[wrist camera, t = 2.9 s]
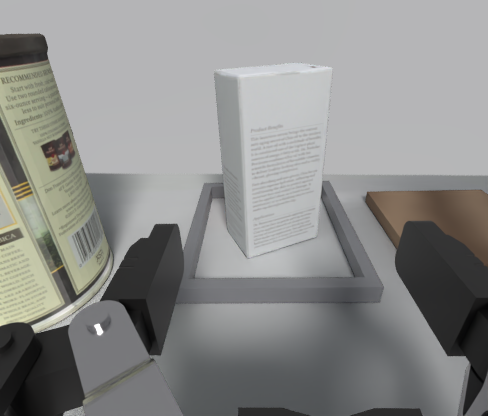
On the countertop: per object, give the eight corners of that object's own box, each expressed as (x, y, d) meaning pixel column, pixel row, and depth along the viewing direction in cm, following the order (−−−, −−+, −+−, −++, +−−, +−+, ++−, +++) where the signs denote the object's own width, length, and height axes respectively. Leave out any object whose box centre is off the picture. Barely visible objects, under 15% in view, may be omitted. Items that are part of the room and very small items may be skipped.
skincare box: (289, 213, 27) (296, 61, 21) (318, 238, 23) (337, 66, 17) (224, 230, 25) (211, 68, 19) (245, 261, 21) (239, 75, 15)
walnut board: (477, 199, 28) (481, 189, 27) (579, 276, 19) (588, 264, 19) (365, 201, 28) (367, 191, 28) (416, 277, 19) (420, 265, 19)
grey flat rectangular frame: (327, 192, 30) (328, 180, 29) (379, 302, 18) (384, 287, 17) (205, 194, 30) (204, 183, 30) (174, 303, 18) (171, 288, 18)
